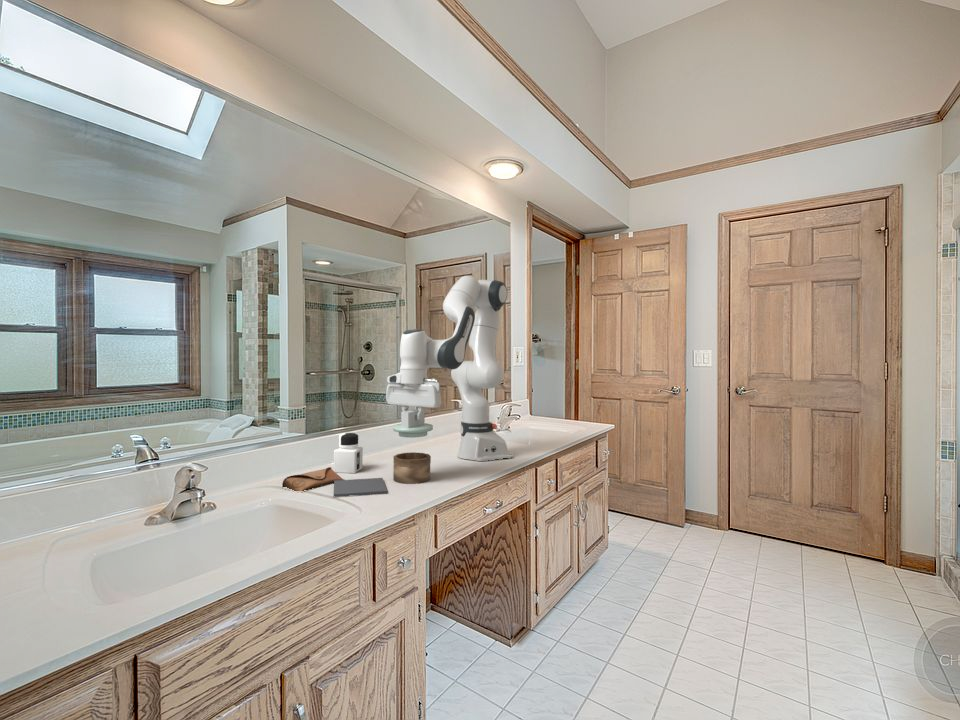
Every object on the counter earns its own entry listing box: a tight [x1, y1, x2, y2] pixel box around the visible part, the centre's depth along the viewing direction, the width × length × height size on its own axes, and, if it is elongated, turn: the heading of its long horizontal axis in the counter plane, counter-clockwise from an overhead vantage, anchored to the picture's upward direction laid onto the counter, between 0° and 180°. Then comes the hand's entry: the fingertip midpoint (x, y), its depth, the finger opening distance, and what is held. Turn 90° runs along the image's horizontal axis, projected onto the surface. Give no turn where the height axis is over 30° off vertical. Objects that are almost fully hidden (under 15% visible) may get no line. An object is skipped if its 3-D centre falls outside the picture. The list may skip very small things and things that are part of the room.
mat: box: [333, 477, 388, 497], centre depth 140 cm, size 15×15×1 cm
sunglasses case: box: [282, 466, 345, 492], centre depth 144 cm, size 18×7×7 cm, turn 148°
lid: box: [392, 408, 434, 438], centre depth 152 cm, size 13×13×8 cm
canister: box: [392, 451, 432, 485], centre depth 152 cm, size 12×12×8 cm
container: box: [332, 432, 364, 474], centre depth 161 cm, size 8×8×13 cm
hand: (413, 419), depth 152 cm, fingers closed on lid, 3 cm apart
